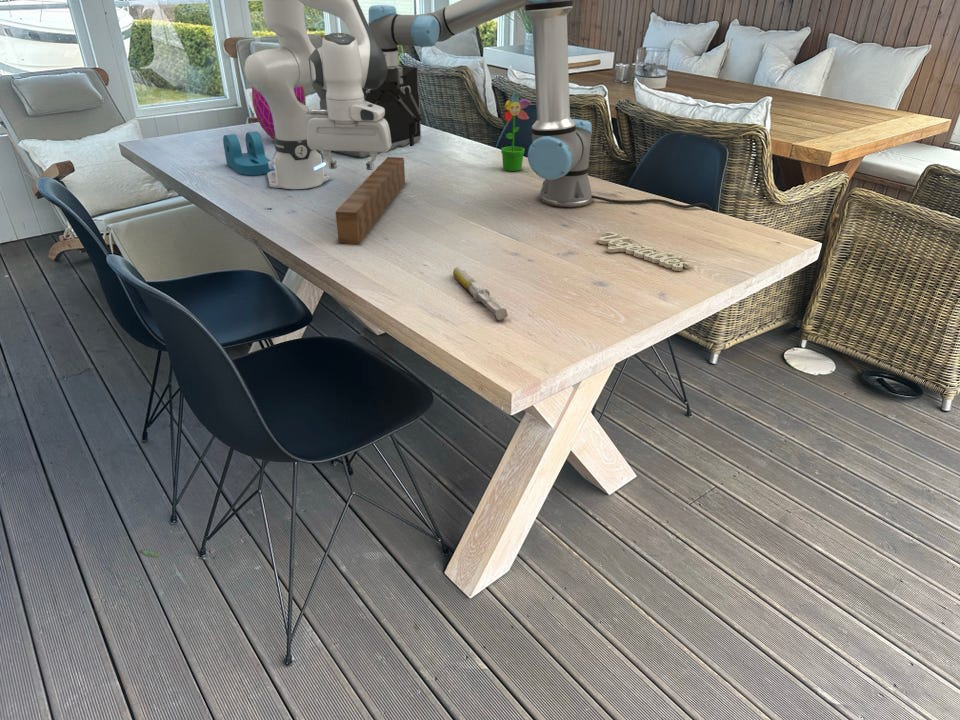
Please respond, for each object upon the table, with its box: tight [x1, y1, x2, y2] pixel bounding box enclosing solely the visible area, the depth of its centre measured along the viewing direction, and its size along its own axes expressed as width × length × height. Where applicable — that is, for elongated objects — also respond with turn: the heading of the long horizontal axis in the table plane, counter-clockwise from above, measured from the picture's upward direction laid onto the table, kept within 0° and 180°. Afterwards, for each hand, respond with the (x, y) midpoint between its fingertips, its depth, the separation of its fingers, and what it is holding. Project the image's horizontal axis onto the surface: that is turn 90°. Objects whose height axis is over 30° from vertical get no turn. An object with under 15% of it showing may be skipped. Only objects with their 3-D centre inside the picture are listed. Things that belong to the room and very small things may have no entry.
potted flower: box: [500, 91, 532, 172], centre depth 226 cm, size 9×8×25 cm
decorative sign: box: [598, 231, 690, 272], centre depth 167 cm, size 26×1×10 cm
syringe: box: [452, 266, 509, 321], centre depth 145 cm, size 25×4×3 cm, turn 21°
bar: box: [334, 156, 406, 245], centre depth 192 cm, size 53×5×8 cm, turn 173°
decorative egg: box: [251, 86, 307, 140], centre depth 257 cm, size 19×19×30 cm
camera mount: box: [222, 131, 272, 176], centre depth 226 cm, size 18×10×10 cm, turn 35°
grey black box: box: [311, 64, 422, 159], centre depth 250 cm, size 37×22×30 cm, turn 144°
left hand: (351, 169), depth 169 cm, fingers open, 8 cm apart
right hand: (389, 144), depth 203 cm, fingers open, 13 cm apart
